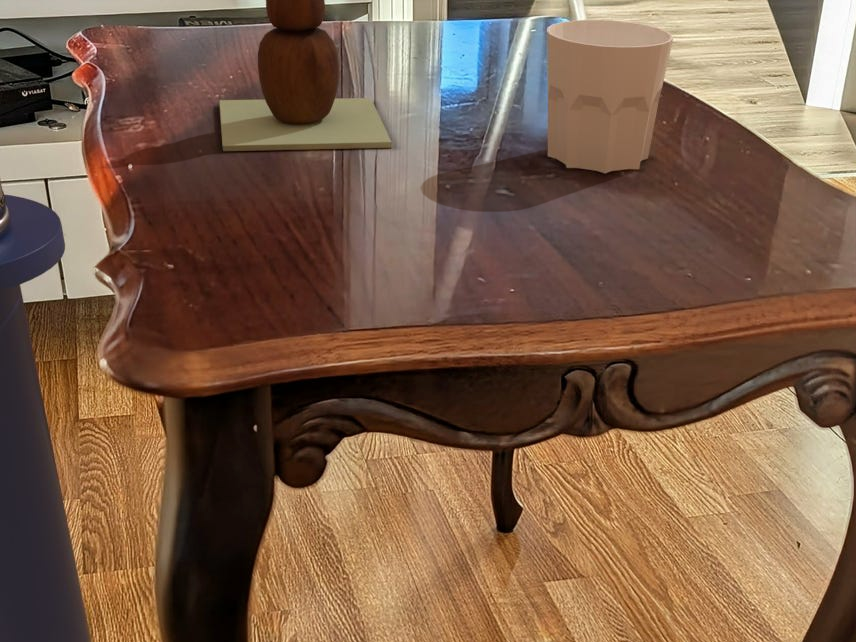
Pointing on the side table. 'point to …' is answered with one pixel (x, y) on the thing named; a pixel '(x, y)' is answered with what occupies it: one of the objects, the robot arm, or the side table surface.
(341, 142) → the mat
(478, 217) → the side table surface
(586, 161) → the cup
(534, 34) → the side table surface
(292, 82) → the wooden figurine
